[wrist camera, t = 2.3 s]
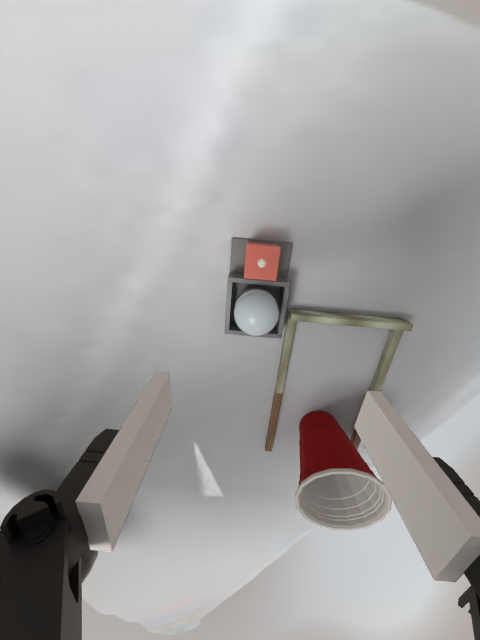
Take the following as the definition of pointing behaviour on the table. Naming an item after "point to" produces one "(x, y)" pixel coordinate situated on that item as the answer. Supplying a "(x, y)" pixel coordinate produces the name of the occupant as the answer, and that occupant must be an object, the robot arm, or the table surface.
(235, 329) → the dome housing
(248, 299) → the dome
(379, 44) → the table surface
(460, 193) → the table surface
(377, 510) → the plastic cup
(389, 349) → the u-shaped frame
